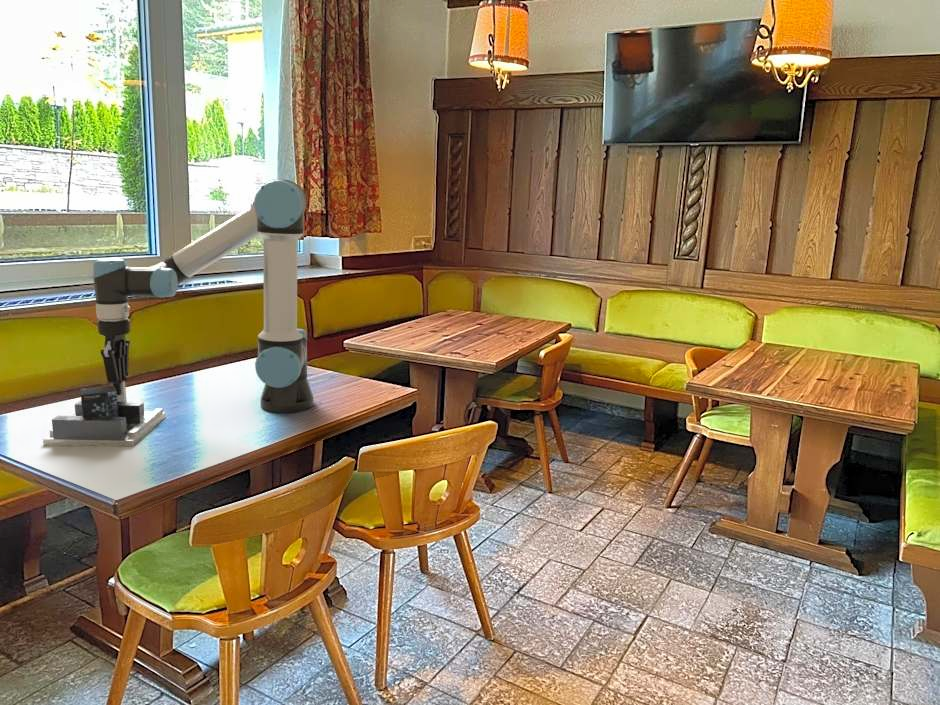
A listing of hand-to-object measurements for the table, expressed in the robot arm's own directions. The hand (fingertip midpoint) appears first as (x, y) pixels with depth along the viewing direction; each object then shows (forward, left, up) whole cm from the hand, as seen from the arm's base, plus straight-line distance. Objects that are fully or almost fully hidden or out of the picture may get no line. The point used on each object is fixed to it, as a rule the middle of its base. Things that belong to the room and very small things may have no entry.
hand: (120, 405), depth 187 cm
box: (0, +12, -3) cm, 12 cm away
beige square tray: (0, +8, -4) cm, 9 cm away
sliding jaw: (0, +6, -3) cm, 6 cm away
